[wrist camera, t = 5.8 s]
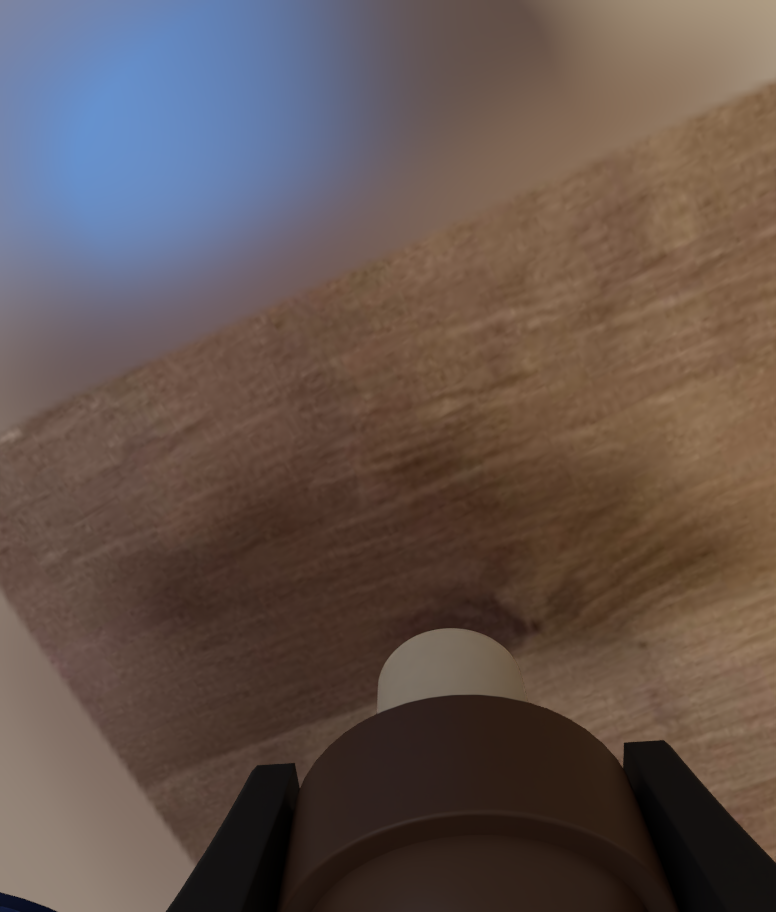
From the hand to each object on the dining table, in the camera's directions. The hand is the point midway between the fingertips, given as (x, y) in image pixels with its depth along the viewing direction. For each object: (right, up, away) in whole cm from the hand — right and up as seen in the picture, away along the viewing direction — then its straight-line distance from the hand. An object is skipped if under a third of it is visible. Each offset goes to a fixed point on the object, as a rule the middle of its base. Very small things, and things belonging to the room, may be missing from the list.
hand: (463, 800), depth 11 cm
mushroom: (0, +1, +3) cm, 3 cm away
